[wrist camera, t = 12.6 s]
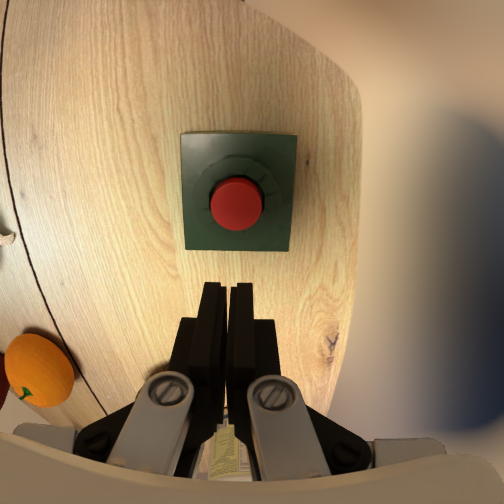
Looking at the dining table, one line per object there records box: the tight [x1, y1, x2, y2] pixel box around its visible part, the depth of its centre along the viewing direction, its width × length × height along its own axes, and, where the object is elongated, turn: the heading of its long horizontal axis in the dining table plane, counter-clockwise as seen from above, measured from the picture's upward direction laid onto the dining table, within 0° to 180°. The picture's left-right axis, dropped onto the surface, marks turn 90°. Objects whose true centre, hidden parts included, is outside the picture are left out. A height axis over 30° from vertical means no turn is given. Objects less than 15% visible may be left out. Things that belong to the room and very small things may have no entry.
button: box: [211, 177, 262, 230], centre depth 22 cm, size 4×4×2 cm
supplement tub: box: [208, 408, 252, 481], centre depth 34 cm, size 12×12×17 cm
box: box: [180, 131, 297, 252], centre depth 24 cm, size 10×9×4 cm
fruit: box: [5, 333, 74, 407], centre depth 31 cm, size 12×12×10 cm
